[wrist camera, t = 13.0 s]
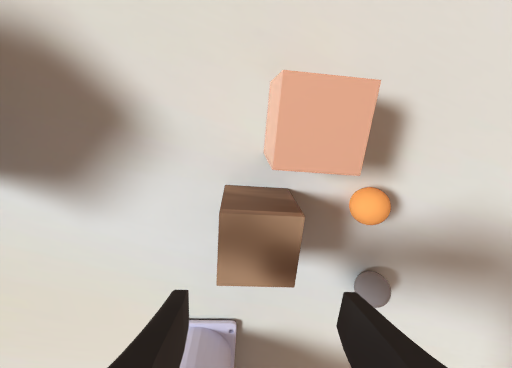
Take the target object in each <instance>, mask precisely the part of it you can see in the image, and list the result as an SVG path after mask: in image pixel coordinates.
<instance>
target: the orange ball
mask: <svg viewBox="0 0 512 368" xmlns="http://www.w3.org/2000/svg"><path fill="white" fill-rule="evenodd" d="M349 209H350V212H351V214H352V216H353V217H354V218H355V219H356V220H357V221H358V222H360V223H362V224H366V225H376V224H379V223H381V222H383V221H384V220H385V219H386V218H387V217H388V215H389V213H390V210H391V204H390V200H389V198H388V197H387V195H386V194H385V193H384V192H382V191H381V190H379V189H376V188H372V187H366V188H362V189H360V190H358V191H356V192H355V193H354V194H353V195H352V197H351V199H350V202H349Z"/></svg>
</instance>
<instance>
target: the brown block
mask: <svg viewBox="0 0 512 368" xmlns="http://www.w3.org/2000/svg"><path fill="white" fill-rule="evenodd" d="M304 221H305V216H304V214H303V213H302V211H301V209H300V208H299V206H298V204H297V203H296V201H295V199H294V198H293V196H292V194H291V193H290V191H289V189H286V188H268V187H251V186H233V185H225V188H224V193H223V198H222V203H221V207H220V212H219V235H218V262H217V286H257V287H294V286H295V279H296V273H297V266H298V260H299V253H300V247H301V240H302V234H303V227H304Z"/></svg>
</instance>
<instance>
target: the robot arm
mask: <svg viewBox="0 0 512 368" xmlns="http://www.w3.org/2000/svg"><path fill="white" fill-rule="evenodd" d="M236 327H237V324H236V322H235V321H233V320H189V298H188V290H174V291H173V292H172V293H171V294H170V296H169V297H168V298H167V300H166V301H165V303H164V304H163V305H162V307H161V308H160V309H159V310H158V312H157V313H156V314H155V316H154V317H153V318H152V319H151V320H150V322H149V323H148V324H147V325H146V327H145V328H144V329H143V330H142V331H141V333H140V334H139V335H138V336H137V337H136V338H135V339H134V340H133V341H132V343H131V344H130V345H129V346H128V347H127V348H126V349H125V350H124V351H123V352H122V354H121V355H120V356H119V357H118V358H117V359H116V360H115V361H114V362H113V363H112V364H111V365H110V366H109V367H108V368H234V361H235V344H236ZM230 329H232V330H230ZM337 329H338V333H339V336H340V339H341V343H342V346H343V349H344V351H345V354H346V356H347V358H348V361H349V363H350V365H351V368H447V367H446V366H444V365H443V364H442V363H440V362H439V361H437V360H436V359H435V358H433V357H432V356H431V355H429V354H428V353H427V352H426V351H424V350H423V349H422V348H421V347H419V346H418V345H417V344H416V343H414V342H413V341H412V340H411V339H409V338H408V337H407V336H406V335H405V334H403V333H402V332H401V331H400V330H399V329H397V328H396V327H395V326H394V325H393V324H392V323H391V322H389V321H388V320H387V319H386V318H385V317H384V316H383V315H382V314H380V313H379V312H378V311H377V310H376V309H375V308H374V307H373V306H371V305H370V304H369V303H368V302H367V301H366V300H365V299H364V298H362V297H361V296H360V295H359V294H358V293H357V292H344V294H343V298H342V303H341V308H340V312H339V317H338V322H337Z"/></svg>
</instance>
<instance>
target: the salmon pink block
mask: <svg viewBox="0 0 512 368" xmlns="http://www.w3.org/2000/svg"><path fill="white" fill-rule="evenodd" d="M380 83H381V80H375V79H365V78H356V77H346V76H336V75H327V74H317V73H308V72H298V71H288V70H283V71H282V72H280V73H279V74H278V75H277V76H276V77H275V78H274V79H273V80H272V81H271V82H270V91H269V102H268V112H267V123H266V133H265V144H264V155H265V157H266V158H267V160H268V162H269V164H270V166H271V168H272V170H283V171H298V172H312V173H327V174H341V175H356V176H360V174H361V169H362V165H363V160H364V156H365V151H366V146H367V142H368V137H369V133H370V128H371V124H372V119H373V115H374V110H375V106H376V101H377V96H378V92H379V87H380Z"/></svg>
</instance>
